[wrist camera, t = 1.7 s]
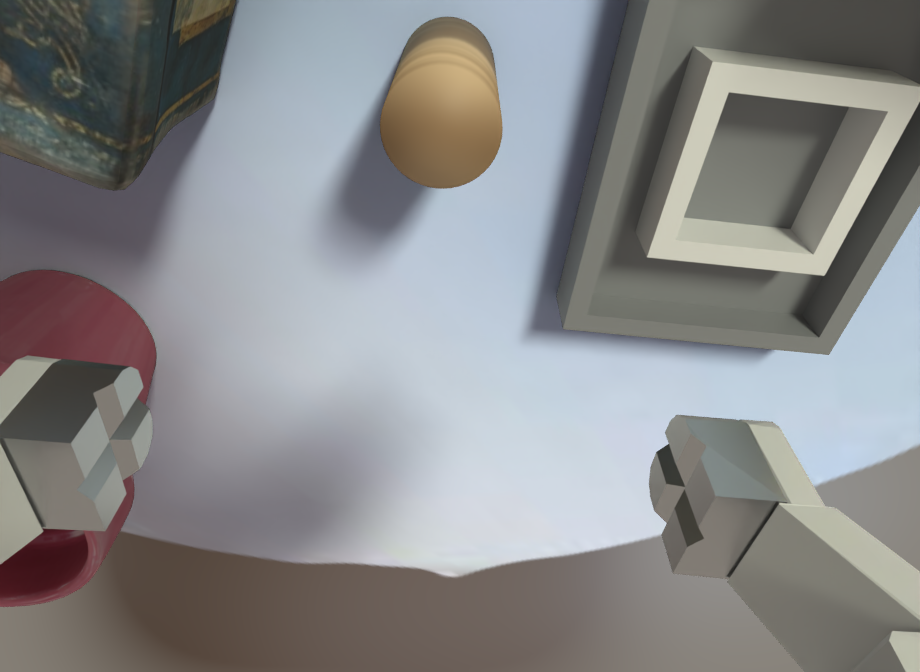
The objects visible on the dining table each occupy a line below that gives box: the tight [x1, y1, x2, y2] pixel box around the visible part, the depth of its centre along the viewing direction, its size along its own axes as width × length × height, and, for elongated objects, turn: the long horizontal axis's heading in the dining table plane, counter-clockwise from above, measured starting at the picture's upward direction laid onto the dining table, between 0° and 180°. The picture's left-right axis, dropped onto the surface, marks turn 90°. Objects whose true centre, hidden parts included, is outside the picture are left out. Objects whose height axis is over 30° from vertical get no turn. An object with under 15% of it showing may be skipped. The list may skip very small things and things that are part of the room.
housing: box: [556, 0, 920, 355], centre depth 27 cm, size 18×14×4 cm
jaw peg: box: [380, 17, 502, 188], centre depth 23 cm, size 4×4×8 cm
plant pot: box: [0, 270, 156, 607], centre depth 30 cm, size 14×14×13 cm
